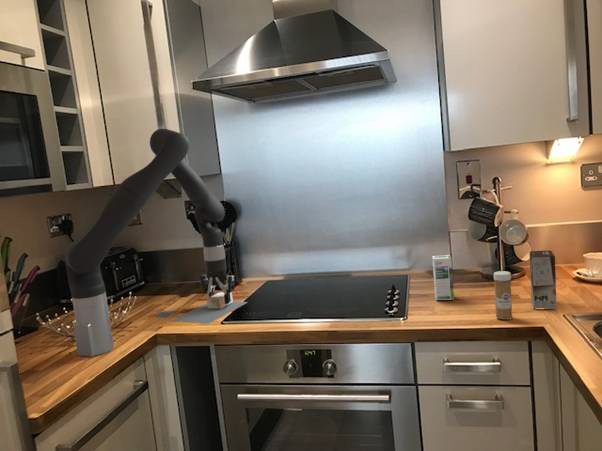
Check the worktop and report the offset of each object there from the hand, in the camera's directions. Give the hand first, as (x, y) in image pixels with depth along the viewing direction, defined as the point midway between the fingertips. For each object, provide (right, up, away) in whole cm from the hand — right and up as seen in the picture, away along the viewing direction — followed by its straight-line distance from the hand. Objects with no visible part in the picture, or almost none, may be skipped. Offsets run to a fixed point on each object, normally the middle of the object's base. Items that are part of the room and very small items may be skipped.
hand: (220, 302), depth 185 cm
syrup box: (+77, +4, -15) cm, 79 cm away
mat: (-2, -3, -5) cm, 6 cm away
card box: (0, -1, 0) cm, 1 cm away
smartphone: (-20, -5, -7) cm, 22 cm away
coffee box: (+103, +4, -31) cm, 108 cm away
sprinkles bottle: (+88, +1, -39) cm, 96 cm away
